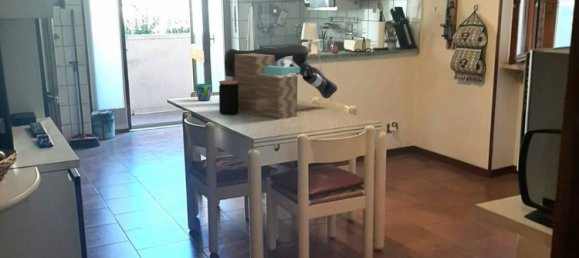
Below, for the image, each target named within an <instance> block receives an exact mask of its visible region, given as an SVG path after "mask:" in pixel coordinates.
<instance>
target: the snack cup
mask: <svg viewBox="0 0 579 258" xmlns="http://www.w3.org/2000/svg"><path fill="white" fill-rule="evenodd" d="M194 87H195V90H196V96H197V100H198V101H199V102H208V101H210V100H211V94H212V88H213V84H211V83H196V84H195V85H194Z"/></svg>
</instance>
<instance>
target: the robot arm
mask: <svg viewBox="0 0 579 258" xmlns="http://www.w3.org/2000/svg"><path fill="white" fill-rule="evenodd" d="M251 53H255V54H266V55H275V63H276V62H278V61H280V60H282V59H284V58H287V57H292V59H291V60H292V61H293V63H294V64H295V65H296V66H295V65H294V64H293V63H290V64H289V66H288V67H300V72H299V73H295V75H296V76H298V75H300V76H301V77H302V79H303V81H305V82H306V83H307V84H309V85H310V86H312V87H314V89H316V90H318V92H319V94H320V95H321V97H322V98H323V99H329V98H331V97H332V96H333V95H334V94H335V93H336V92H337V90H338V86H337V84H336V83H334V82H333V81H332V80H330V79H328V78H327V77H326V76H325V75H324V73H323V72H322V71H321V70H320V69H319V68H317V67H314V66H312V65H310V63H309V61H308V56H309V48H308V46H306V45H302V44H297V45H289V46H282V47H260V48H255V49H251V50H240V49H238V50H237V49H234V48H229V49H228V50H227V51H225V53H224V72H225V80H234V81H235V54H251Z"/></svg>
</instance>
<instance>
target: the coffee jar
mask: <svg viewBox="0 0 579 258" xmlns="http://www.w3.org/2000/svg"><path fill="white" fill-rule="evenodd" d="M218 82H219V85H218V94H219V95H218V97H219V99H218V101H219V107H218V108H219V109H218V110H219V114H220V115H222V116H235V115H238V114H239V112H240V111H239V95H238V81H234V80H226V79H225V80H219V81H218Z"/></svg>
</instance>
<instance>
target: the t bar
mask: <svg viewBox="0 0 579 258" xmlns="http://www.w3.org/2000/svg"><path fill="white" fill-rule="evenodd" d="M299 72H300V67H299V66H296V67H289V66H277V65H275V66H264V73H265V74H272V75H280V76H284V75H288V74H296V73H299Z"/></svg>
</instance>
